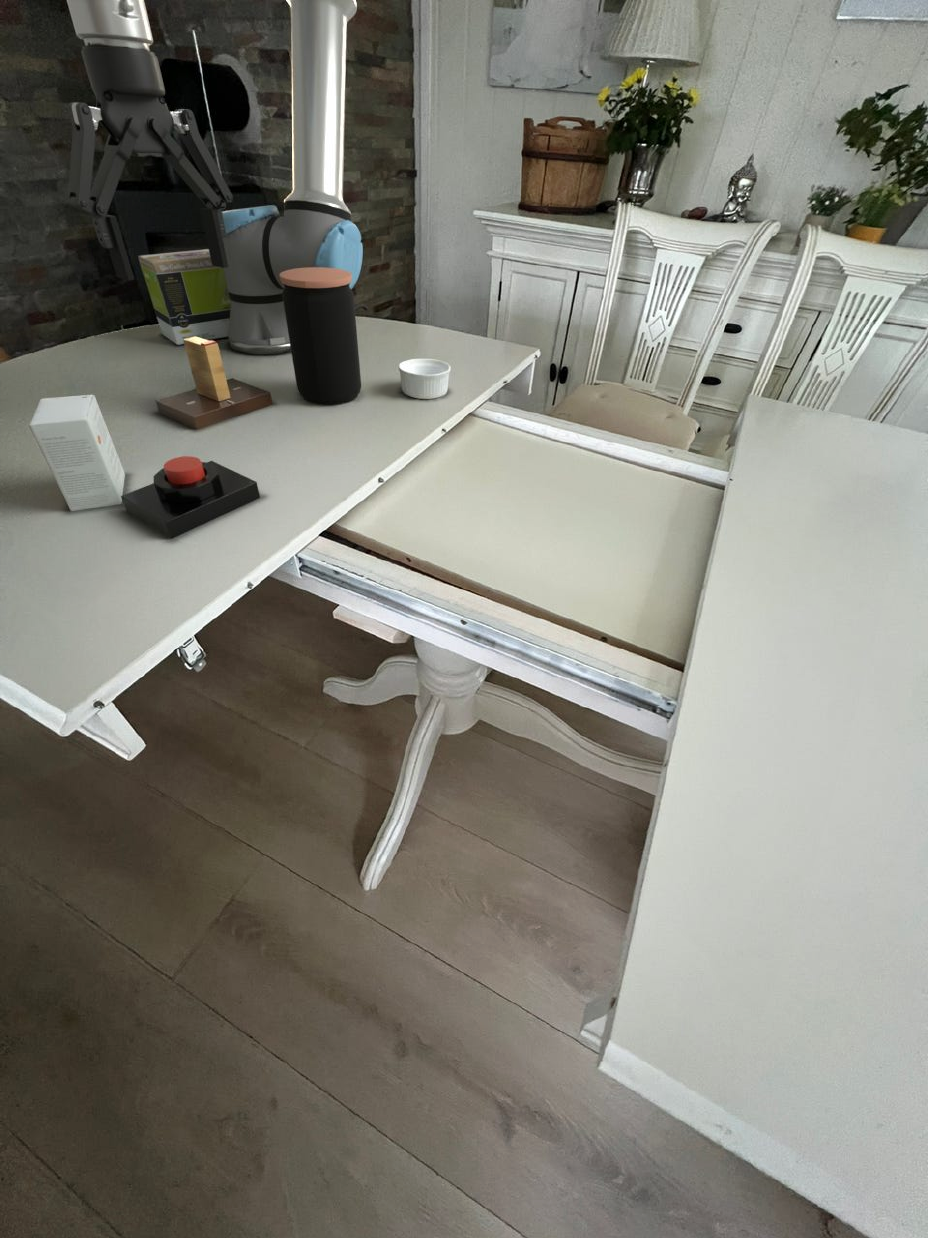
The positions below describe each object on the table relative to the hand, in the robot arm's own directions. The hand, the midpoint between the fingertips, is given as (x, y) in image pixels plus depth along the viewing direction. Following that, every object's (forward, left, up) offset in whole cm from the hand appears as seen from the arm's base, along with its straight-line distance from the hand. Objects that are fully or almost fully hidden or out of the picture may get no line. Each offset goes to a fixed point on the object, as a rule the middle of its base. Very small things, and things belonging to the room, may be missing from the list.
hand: (175, 272), depth 75 cm
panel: (-2, -3, -20) cm, 20 cm away
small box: (+23, +10, -20) cm, 32 cm away
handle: (-2, -3, -17) cm, 18 cm away
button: (+18, +21, -16) cm, 32 cm away
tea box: (-25, -40, -20) cm, 51 cm away
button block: (+18, +21, -20) cm, 34 cm away
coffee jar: (-18, +6, -20) cm, 28 cm away
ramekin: (-30, +17, -20) cm, 40 cm away
